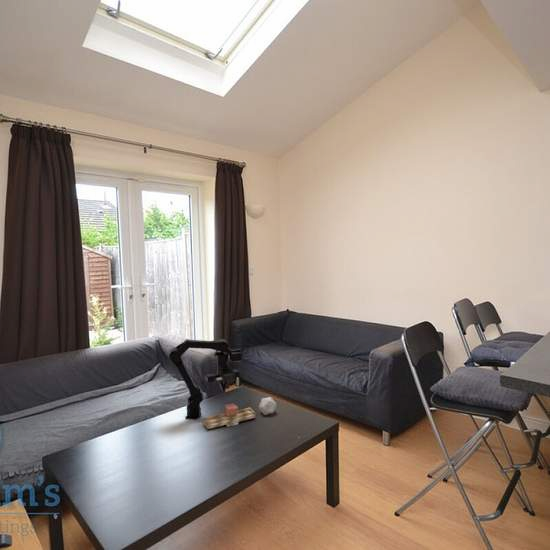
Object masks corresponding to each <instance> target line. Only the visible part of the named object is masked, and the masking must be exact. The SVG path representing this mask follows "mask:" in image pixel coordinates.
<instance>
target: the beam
mask: <svg viewBox="0 0 550 550" xmlns="http://www.w3.org/2000/svg"><path fill="white" fill-rule="evenodd" d="M255 418H256V412H255V411H254V409H252V408H251V407H250V406H248V407H247V408H242V409H239V410H238V409H237V415H234V416H230V417H226V412H225V413H220V414H215V415H211V416H206V417H203V418H202V423H203V424H204V426H205V428H206V429H207V430H208V429H213V428H217V427H222V426H224V425H225V426H226V427H227V428H229V427H233V426H238V425H239V422H243V421H247V420H250V419H255Z"/></svg>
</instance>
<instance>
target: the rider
mask: <svg viewBox="0 0 550 550" xmlns="http://www.w3.org/2000/svg"><path fill="white" fill-rule="evenodd" d="M224 408H225V413H226V417H230V416H234V415H237V410H238V409H239V408H238V406H237V405H236V404H235V403H229V404H224Z"/></svg>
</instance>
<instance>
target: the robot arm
mask: <svg viewBox="0 0 550 550" xmlns="http://www.w3.org/2000/svg"><path fill="white" fill-rule="evenodd" d="M189 349H203V350H204V349H205V350H212V351H213V350H214V351H215V352H214V353H213V356H214V357H216V358H217V361H216V362H217V363H216V367H217V371H216V374H213V373H207V374H205V375H204V380H205V381H206V382H207V383H213V382H215V380H216V381H217V382H218V384H219V387H220V389H221V391H222V392H225V390H226V387H227V385H228V382H229V381H231V380H232V378H233V377H235V378H241V371H239V370H238V369H235V368H233V369H230V366H229V361H230V362H231V363H236V362H237V363H239V362H242V361H243V356H242V350H241V348H235V349H231V348H230V347H229V344H228V342H227V341H226V340H225V339H224V338H220V339H219V338H218V339H213V340H201V339H200V340H198V339H197V340H196V339H187V338H186V339H185V340H184V341H182V342H181V343H179V344H178V345H176V346H175V347H172V348H171V349H170V350H169V352H168V359H169V360H170V361H171V362H172V364H173V365H174V367H176V368H177V370H178V372H179V374H180V376H181V377H182V379H183V381H184V384H185V385H186V387H187V389H188V390H189V395H190V396H189V397H188V398H187V405H186V416H185V419H189V420H198V419H199V418H200V416H201V415H202V407H201V403H202V402H203V400H204V397H203V396H204V392H203V389H201V387H200V384H198V385H196V384H195V382H194V380H193V379H192V377H191V375H190V372H189V371H188V369H187V367H186V365H185V364H184V360H183V358H182V356H183V355H184V354H185V353H186V351H188V350H189Z"/></svg>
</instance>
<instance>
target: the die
mask: <svg viewBox="0 0 550 550" xmlns="http://www.w3.org/2000/svg"><path fill="white" fill-rule="evenodd" d="M276 407H277V403H276V402H275V400H274V399H273V398H272V397H271V396H269V397H262V398H261V400H260V403H259V405H258V408H259V410H260V411H261V412H262V414H263V415H264V416H267V415H271V414H274V413H275V409H276Z"/></svg>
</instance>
